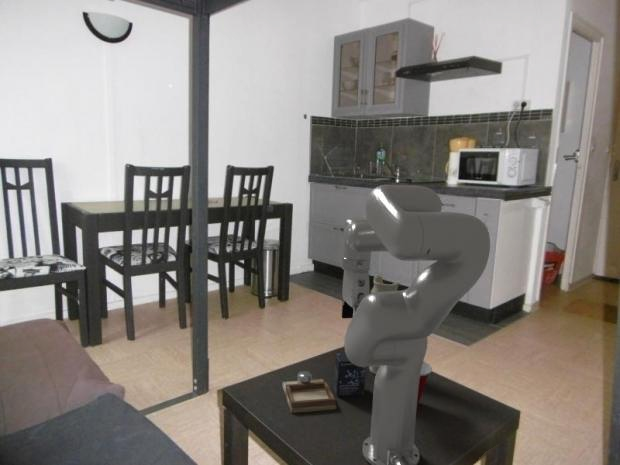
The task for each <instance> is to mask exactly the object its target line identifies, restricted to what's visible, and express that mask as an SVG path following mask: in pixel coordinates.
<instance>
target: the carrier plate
mask: <svg viewBox="0 0 620 465" xmlns="http://www.w3.org/2000/svg"><path fill="white" fill-rule="evenodd" d="M312 377H313V375H312V373H311V372H310V371H305V370H302V371H299V372H298V373H297V380H292V381H289V380H288V381H282V382H281V383H282V384H281V385H282V386H281V387H282V389H283V391H284V395H285V398H286V401H287V405H288V408H289V411H290V413H291V414H292V413H296V414H297V413H306V412H316V411H317V412H319V411H331V410H336V409H337V404H336V398H335V396H334V394H333V392H332V391H331V388H330V386H329V384H328V383H327V381H324V379H323V378H320V379H313V378H312Z"/></svg>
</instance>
